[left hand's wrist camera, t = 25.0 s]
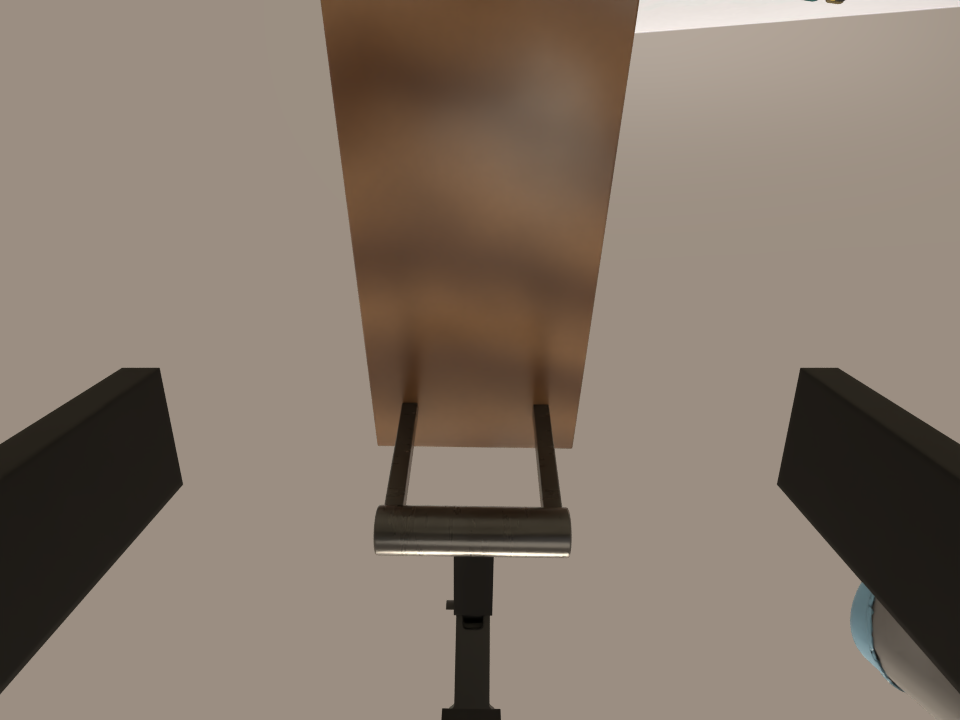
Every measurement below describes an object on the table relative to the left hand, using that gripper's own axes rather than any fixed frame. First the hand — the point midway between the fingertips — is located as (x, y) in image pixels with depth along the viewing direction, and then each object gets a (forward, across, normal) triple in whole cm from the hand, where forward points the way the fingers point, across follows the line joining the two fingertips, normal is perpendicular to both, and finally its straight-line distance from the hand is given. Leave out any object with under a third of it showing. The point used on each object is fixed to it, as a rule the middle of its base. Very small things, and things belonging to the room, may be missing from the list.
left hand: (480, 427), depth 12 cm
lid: (+12, 0, -1) cm, 12 cm away
